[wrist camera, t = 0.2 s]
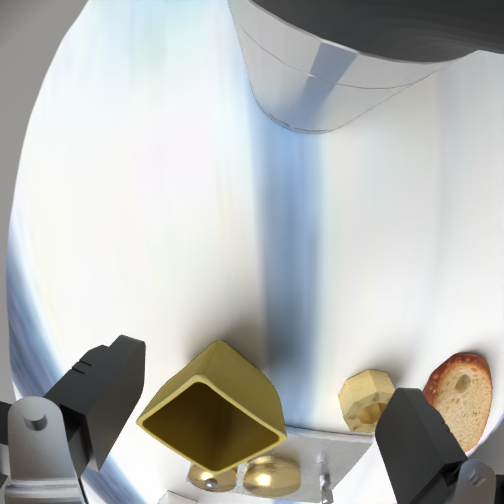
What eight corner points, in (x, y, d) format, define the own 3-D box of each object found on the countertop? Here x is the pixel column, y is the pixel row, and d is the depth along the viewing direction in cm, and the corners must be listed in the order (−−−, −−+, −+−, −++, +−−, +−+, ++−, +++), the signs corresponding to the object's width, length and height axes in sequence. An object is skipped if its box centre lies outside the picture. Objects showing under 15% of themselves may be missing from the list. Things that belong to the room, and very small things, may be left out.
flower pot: (163, 364, 29) (132, 424, 20) (219, 313, 27) (197, 373, 18) (227, 412, 30) (215, 476, 22) (287, 370, 28) (290, 438, 20)
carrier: (207, 407, 30) (197, 444, 25) (370, 436, 30) (380, 469, 25) (187, 475, 34) (179, 504, 29) (318, 496, 35) (320, 525, 29)
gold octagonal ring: (353, 366, 28) (362, 389, 24) (399, 374, 28) (410, 395, 24) (331, 406, 29) (336, 429, 26) (375, 411, 29) (383, 433, 26)
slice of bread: (459, 450, 32) (467, 466, 28) (371, 452, 32) (376, 473, 28) (525, 360, 27) (538, 373, 24) (445, 344, 27) (461, 362, 23)
